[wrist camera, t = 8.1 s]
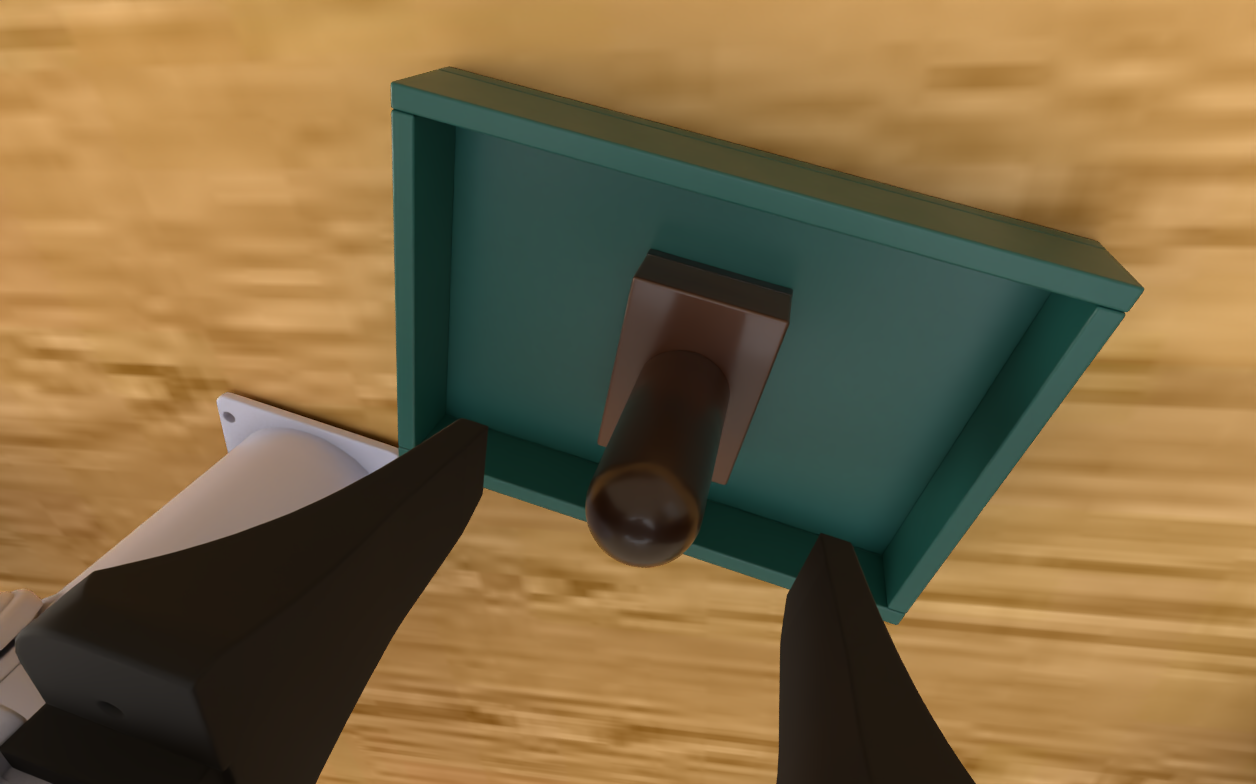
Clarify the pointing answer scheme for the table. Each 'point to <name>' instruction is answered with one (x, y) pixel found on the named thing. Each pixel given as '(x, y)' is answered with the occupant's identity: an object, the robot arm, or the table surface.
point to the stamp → (679, 402)
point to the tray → (751, 246)
